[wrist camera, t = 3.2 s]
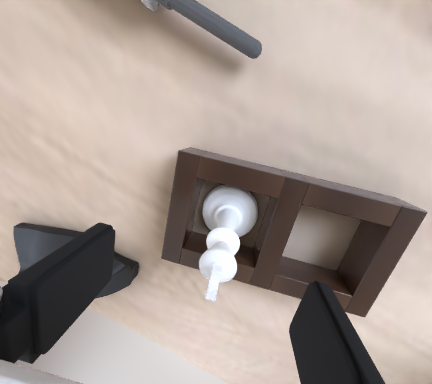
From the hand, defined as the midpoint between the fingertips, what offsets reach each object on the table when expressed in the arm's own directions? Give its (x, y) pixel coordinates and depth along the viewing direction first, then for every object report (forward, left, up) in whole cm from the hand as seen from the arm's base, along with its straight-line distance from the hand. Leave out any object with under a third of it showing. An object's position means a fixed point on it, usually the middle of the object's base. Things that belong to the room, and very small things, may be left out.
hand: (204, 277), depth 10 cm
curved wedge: (+15, +11, -9) cm, 21 cm away
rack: (-4, 0, -9) cm, 10 cm away
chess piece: (-1, 0, -9) cm, 9 cm away
